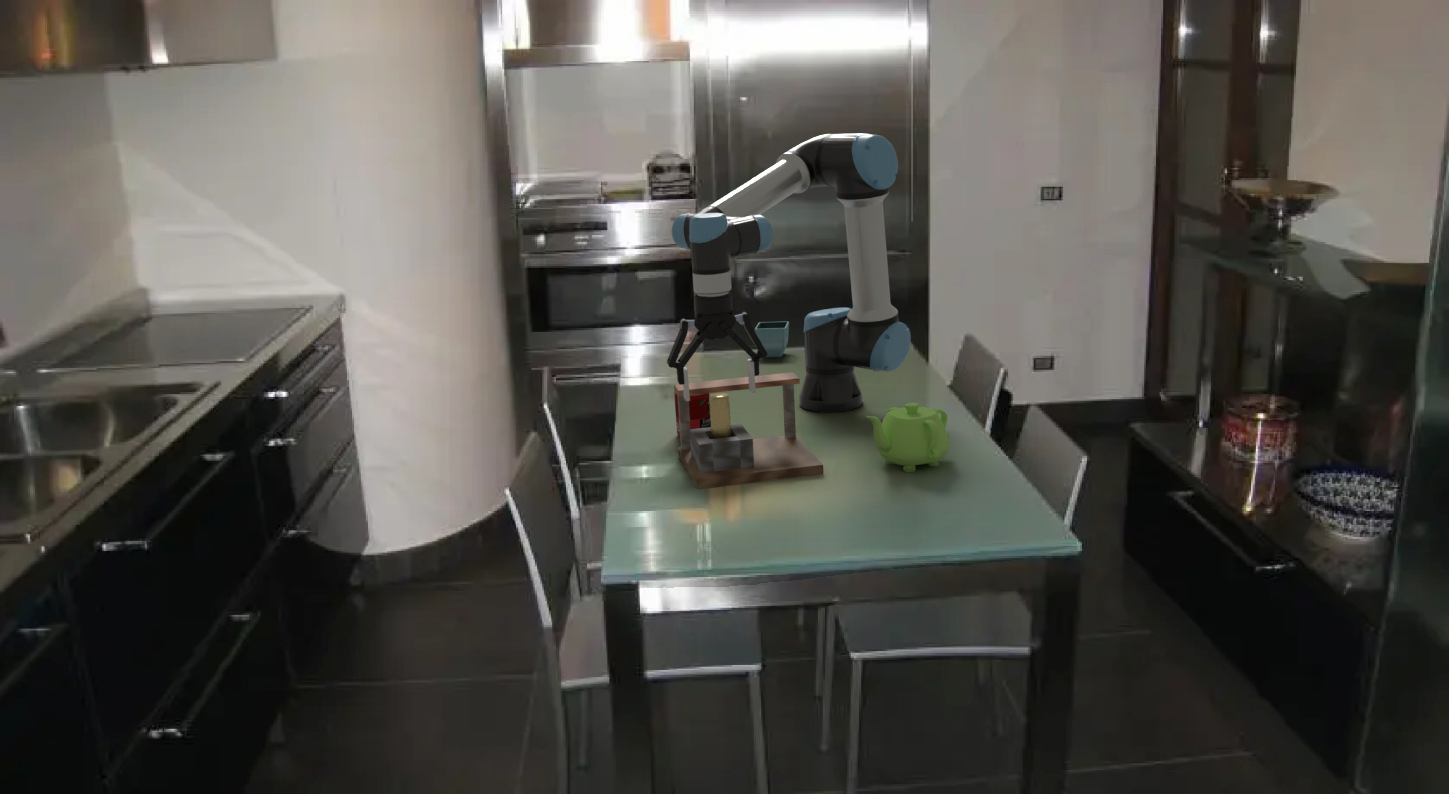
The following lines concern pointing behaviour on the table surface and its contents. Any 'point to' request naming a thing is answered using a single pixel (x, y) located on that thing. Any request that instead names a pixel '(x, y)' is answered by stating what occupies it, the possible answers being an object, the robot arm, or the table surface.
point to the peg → (720, 416)
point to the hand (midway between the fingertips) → (719, 395)
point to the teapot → (911, 436)
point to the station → (743, 441)
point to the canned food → (696, 411)
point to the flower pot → (773, 337)
